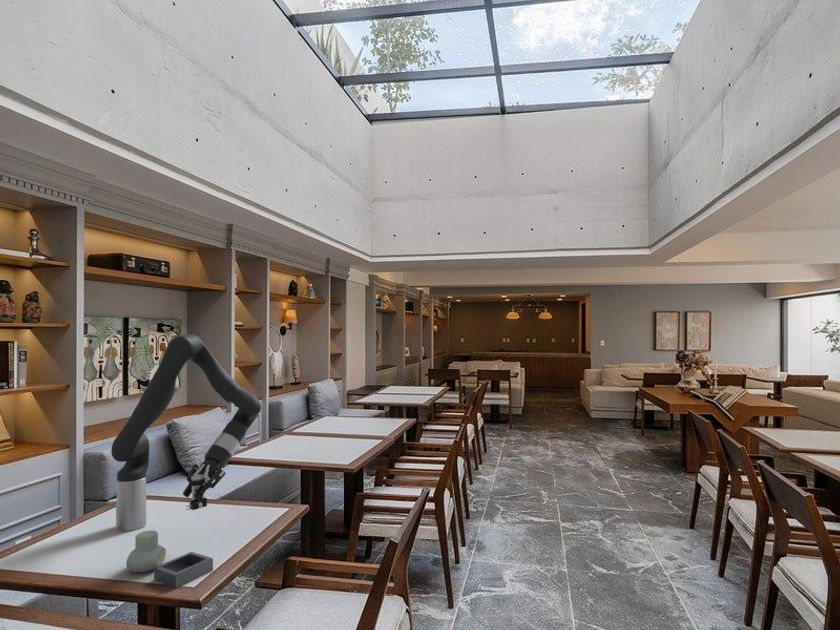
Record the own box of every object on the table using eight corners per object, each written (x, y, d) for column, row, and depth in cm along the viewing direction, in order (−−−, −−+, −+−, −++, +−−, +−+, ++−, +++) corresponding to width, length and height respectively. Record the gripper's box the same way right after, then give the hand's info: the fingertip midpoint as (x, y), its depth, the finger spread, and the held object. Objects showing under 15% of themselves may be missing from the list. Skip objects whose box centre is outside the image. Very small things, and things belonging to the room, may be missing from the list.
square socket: (153, 580, 145) (153, 567, 145) (191, 563, 155) (191, 551, 155) (175, 588, 140) (175, 575, 140) (212, 570, 150) (212, 558, 150)
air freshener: (153, 576, 147) (153, 540, 148) (123, 577, 147) (123, 542, 147) (168, 559, 158) (168, 526, 158) (140, 560, 157) (140, 527, 158)
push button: (191, 513, 159) (190, 480, 159) (181, 510, 162) (180, 477, 162) (210, 506, 164) (210, 474, 164) (200, 503, 167) (200, 472, 167)
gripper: (201, 441, 173) (168, 487, 163) (230, 445, 166) (198, 494, 155) (214, 454, 178) (183, 499, 167) (243, 458, 171) (213, 506, 160)
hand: (190, 496), depth 161 cm, fingers closed on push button, 4 cm apart
